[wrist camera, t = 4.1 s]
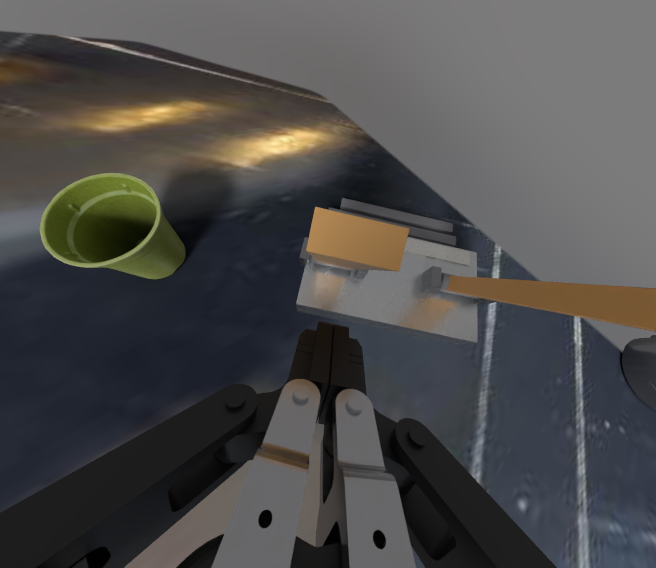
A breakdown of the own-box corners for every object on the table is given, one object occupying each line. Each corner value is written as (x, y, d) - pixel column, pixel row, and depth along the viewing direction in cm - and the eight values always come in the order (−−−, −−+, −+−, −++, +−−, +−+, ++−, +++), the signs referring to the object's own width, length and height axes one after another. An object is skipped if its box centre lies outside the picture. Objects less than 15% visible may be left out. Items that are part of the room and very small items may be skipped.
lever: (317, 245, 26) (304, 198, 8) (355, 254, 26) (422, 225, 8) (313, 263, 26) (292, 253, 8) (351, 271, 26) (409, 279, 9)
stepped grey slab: (330, 201, 33) (331, 195, 32) (450, 229, 34) (456, 224, 33) (326, 221, 32) (327, 215, 31) (449, 249, 33) (455, 245, 32)
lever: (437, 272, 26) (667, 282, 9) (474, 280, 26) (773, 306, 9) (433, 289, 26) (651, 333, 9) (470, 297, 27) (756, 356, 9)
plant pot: (204, 283, 28) (163, 253, 20) (118, 301, 26) (34, 276, 18) (196, 218, 31) (157, 166, 22) (117, 230, 29) (43, 180, 21)
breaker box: (311, 232, 32) (313, 203, 26) (460, 265, 32) (495, 245, 26) (292, 309, 28) (289, 297, 22) (459, 345, 29) (499, 342, 23)
